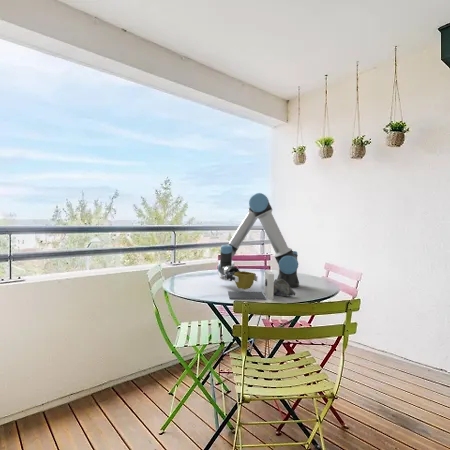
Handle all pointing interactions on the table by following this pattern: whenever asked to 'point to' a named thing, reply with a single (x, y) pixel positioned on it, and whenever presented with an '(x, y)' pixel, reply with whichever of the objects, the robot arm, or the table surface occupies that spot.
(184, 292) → the table surface
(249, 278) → the flower pot
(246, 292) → the mat
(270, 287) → the wall socket block
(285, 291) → the mineral rock
